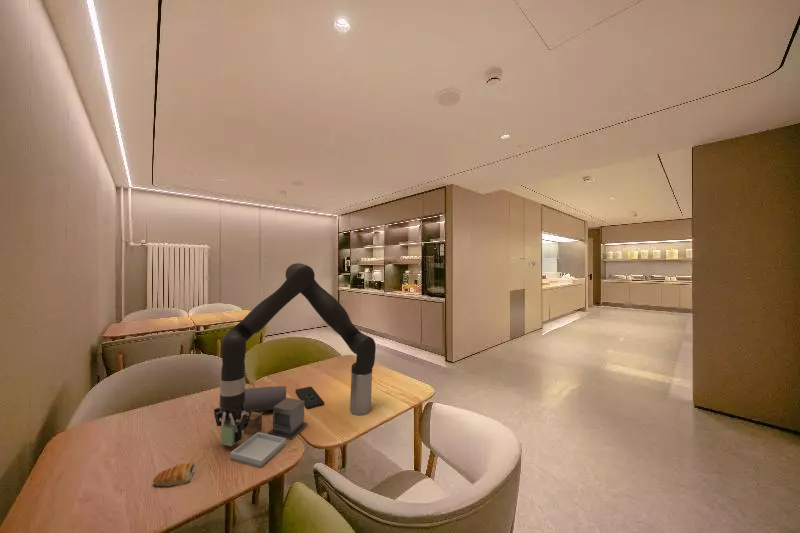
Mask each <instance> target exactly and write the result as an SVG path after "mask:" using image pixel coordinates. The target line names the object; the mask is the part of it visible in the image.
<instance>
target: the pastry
mask: <svg viewBox="0 0 800 533" xmlns="http://www.w3.org/2000/svg"><path fill="white" fill-rule="evenodd" d="M195 470H196V466H195V463H194V462H193V461H191V462H184V463H179V464H176V465H175V466H172V467H169V468H166V469H165V470H163V471H161V472H158V474H156V476H155V477H154V478H153V479H152V482H153V484H154V485H155V486H156V487H166V486H169V487H172V486H171V485H175V486H179V485H180V484H181V485H185V484H187V483H189V482H190V481H191V479H192V478H193V474H194V473H195ZM160 485H161V486H160ZM181 485H180V486H181Z"/></svg>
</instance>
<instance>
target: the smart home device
mask: <svg viewBox="0 0 800 533" xmlns="http://www.w3.org/2000/svg"><path fill="white" fill-rule="evenodd" d="M294 391H295V394H296V396H297V397H298V400H302V401H305V404H304V408H305V409H306V410H311V409H314V408H315V409H316V408H319V407H323V406H325V401H324V400H323V398H322V397H321V396H320V395H319V393H317V392H316V390H315V389H314V387H312V386H307V387H301V388H296V389H295V390H294Z"/></svg>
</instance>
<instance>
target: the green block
mask: <svg viewBox="0 0 800 533" xmlns="http://www.w3.org/2000/svg"><path fill="white" fill-rule="evenodd" d="M236 421H238V420H236ZM238 427H239V424H238ZM220 430H221V432H220V436H221V437H220V444H221V445H224V446H228V447H233V446H235V445H236V443H235V442H234V433H235V430H234V426H232V423H231V421H230V422H227V423H226V424H225V425H223V426H221V427H220ZM242 439H243V437H242V438H241V439H240V441H242Z"/></svg>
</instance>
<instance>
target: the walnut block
mask: <svg viewBox="0 0 800 533" xmlns="http://www.w3.org/2000/svg"><path fill="white" fill-rule="evenodd" d="M262 427H263V413H257V412H251V416H250V419H249V423H248V426H247V428H245V429H244V430H242V434H244V435H249V436H251V437H252V436H253V435H255V434H256V433H257V432H260V431H261V430H262V429H263V428H262Z"/></svg>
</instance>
